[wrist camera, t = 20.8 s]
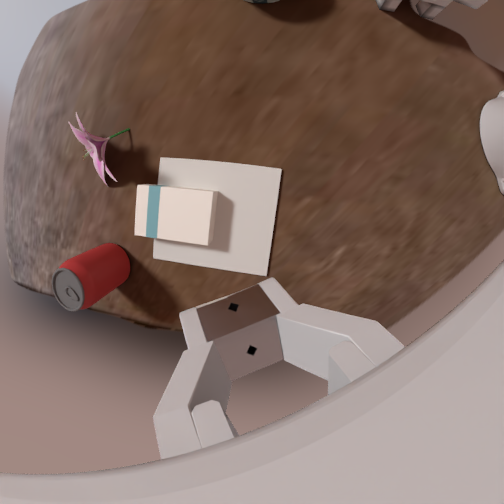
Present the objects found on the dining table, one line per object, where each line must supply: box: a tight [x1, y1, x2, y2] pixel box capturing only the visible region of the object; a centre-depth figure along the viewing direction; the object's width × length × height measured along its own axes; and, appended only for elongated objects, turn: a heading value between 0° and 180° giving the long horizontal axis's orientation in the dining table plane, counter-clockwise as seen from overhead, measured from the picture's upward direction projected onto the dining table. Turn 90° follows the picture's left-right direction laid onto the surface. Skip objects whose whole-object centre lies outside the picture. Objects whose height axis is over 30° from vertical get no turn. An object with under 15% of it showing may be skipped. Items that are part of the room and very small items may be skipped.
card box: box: [135, 184, 218, 246], centre depth 35 cm, size 3×6×10 cm
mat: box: [153, 158, 282, 276], centre depth 37 cm, size 16×14×1 cm
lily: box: [68, 113, 130, 185], centre depth 32 cm, size 12×12×10 cm
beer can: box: [52, 243, 130, 311], centre depth 34 cm, size 7×7×12 cm
